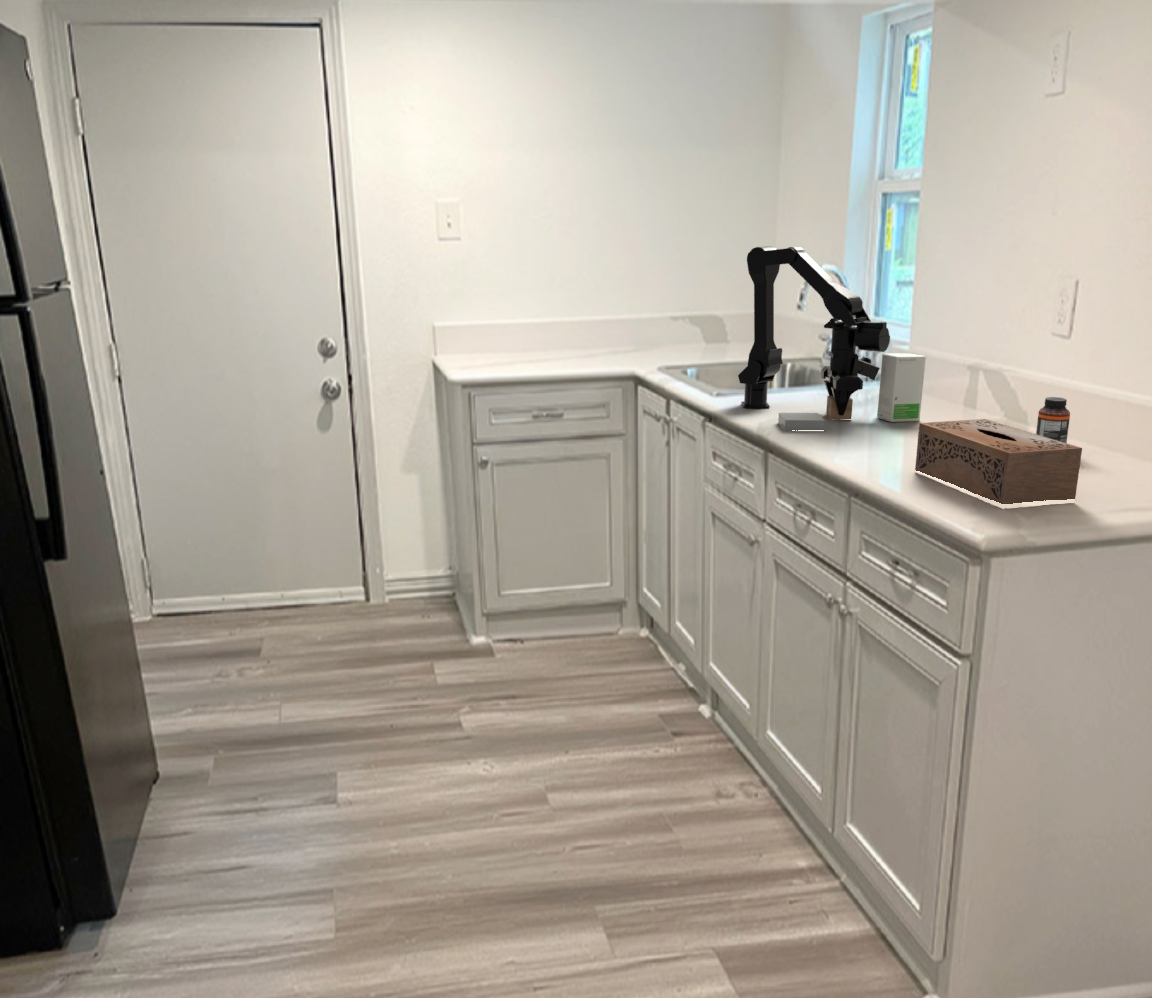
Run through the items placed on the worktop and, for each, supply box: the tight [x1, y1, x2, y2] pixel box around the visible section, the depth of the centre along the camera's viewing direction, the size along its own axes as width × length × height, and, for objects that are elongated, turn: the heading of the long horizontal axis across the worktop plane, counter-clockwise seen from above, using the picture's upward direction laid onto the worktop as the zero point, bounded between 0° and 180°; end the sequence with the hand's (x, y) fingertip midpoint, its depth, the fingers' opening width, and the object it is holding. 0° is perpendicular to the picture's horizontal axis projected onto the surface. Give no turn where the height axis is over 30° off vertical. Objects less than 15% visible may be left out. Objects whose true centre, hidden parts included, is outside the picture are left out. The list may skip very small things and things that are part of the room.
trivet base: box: [777, 412, 826, 432], centre depth 235 cm, size 9×9×3 cm
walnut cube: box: [825, 395, 854, 421], centre depth 245 cm, size 5×5×5 cm
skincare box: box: [876, 353, 927, 423], centre depth 242 cm, size 8×7×16 cm
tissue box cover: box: [914, 418, 1083, 504], centre depth 184 cm, size 26×14×10 cm, turn 15°
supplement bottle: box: [1035, 396, 1071, 444], centre depth 209 cm, size 6×6×11 cm
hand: (838, 413), depth 246 cm, fingers closed on walnut cube, 5 cm apart
